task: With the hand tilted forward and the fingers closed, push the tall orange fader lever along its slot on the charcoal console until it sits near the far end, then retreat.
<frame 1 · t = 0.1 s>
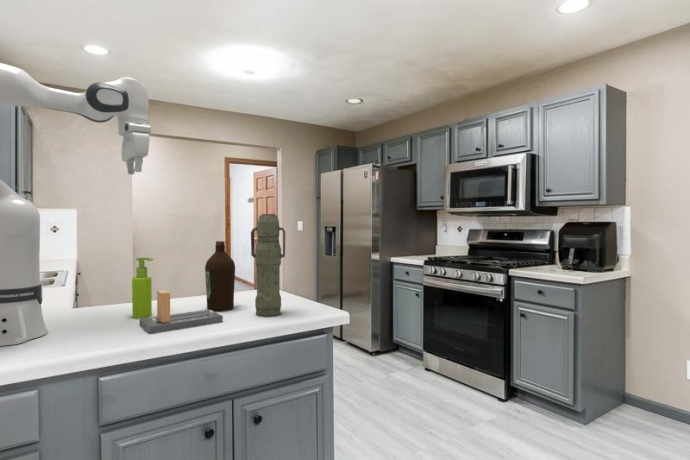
hand: (134, 173, 135), 48 cm above the countertop, tool pointing down, fingers open, 8 cm apart
fader lever: (163, 306, 126), point 7 cm above the countertop, slide at 0.0 cm
olive oil: (220, 309, 153), on the countertop
soap dispenser: (143, 316, 141), on the countertop
console: (181, 323, 132), on the countertop
thermos: (268, 314, 146), on the countertop
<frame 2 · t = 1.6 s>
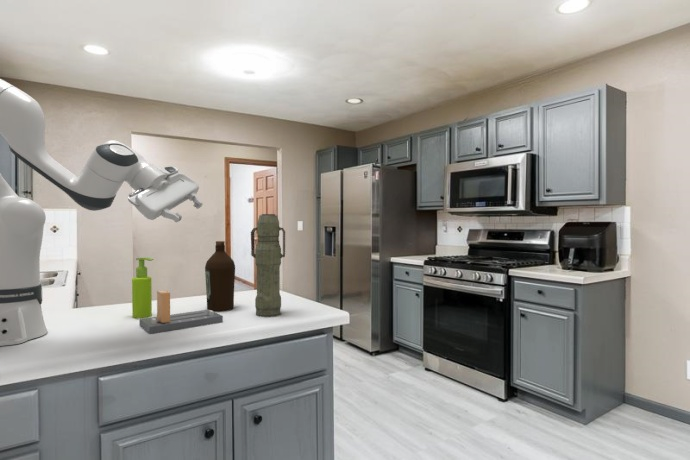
hand: (190, 212, 119), 35 cm above the countertop, tool tilted 55°, fingers open, 8 cm apart
nothing on the countertop moved.
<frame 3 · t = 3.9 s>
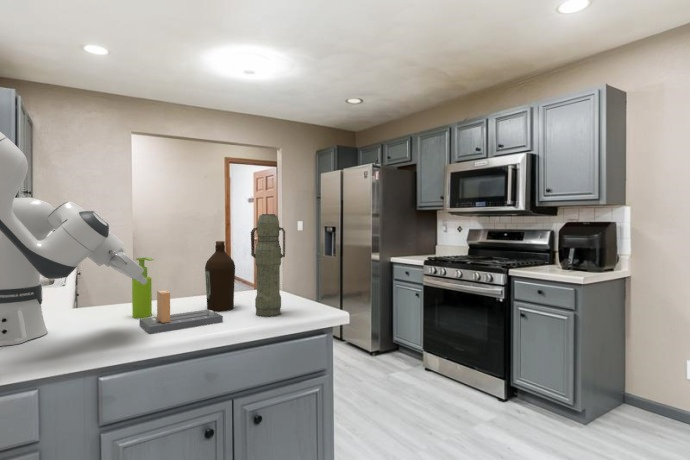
hand: (144, 282, 122), 15 cm above the countertop, tool tilted 45°, fingers closed
nothing on the countertop moved.
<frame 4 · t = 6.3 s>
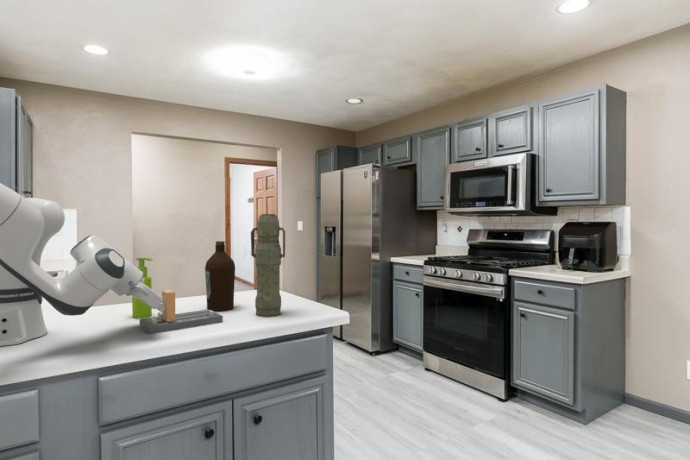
hand: (162, 309, 126), 6 cm above the countertop, tool tilted 45°, fingers closed, pressing on fader lever
fader lever: (168, 305, 127), point 7 cm above the countertop, slide at 1.5 cm, touching gripper
everything else where it was.
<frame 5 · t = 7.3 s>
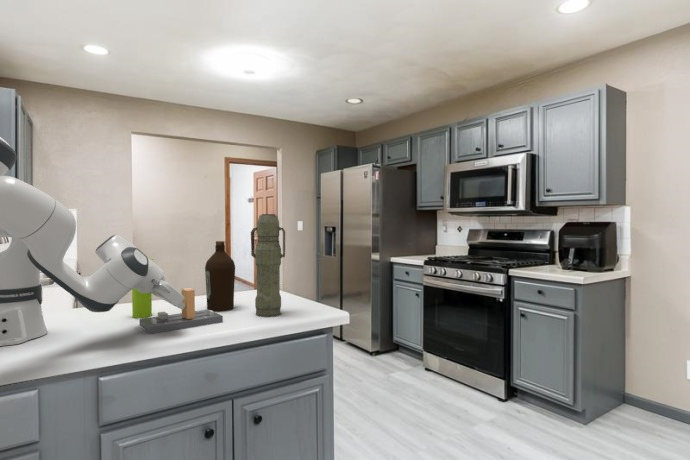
hand: (182, 306, 130), 6 cm above the countertop, tool tilted 45°, fingers closed, pressing on fader lever
fader lever: (188, 302, 131), point 7 cm above the countertop, slide at 7.4 cm, touching gripper
everything else where it was.
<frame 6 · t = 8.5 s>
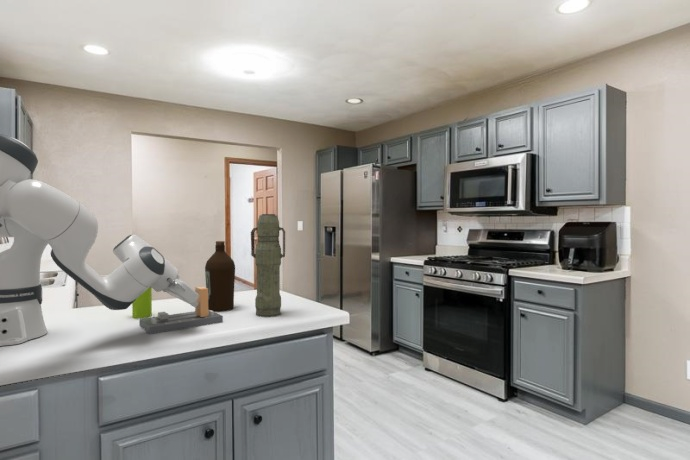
hand: (196, 305, 132), 6 cm above the countertop, tool tilted 45°, fingers closed, pressing on fader lever
fader lever: (201, 301, 134), point 7 cm above the countertop, slide at 11.7 cm, touching gripper
everything else where it was.
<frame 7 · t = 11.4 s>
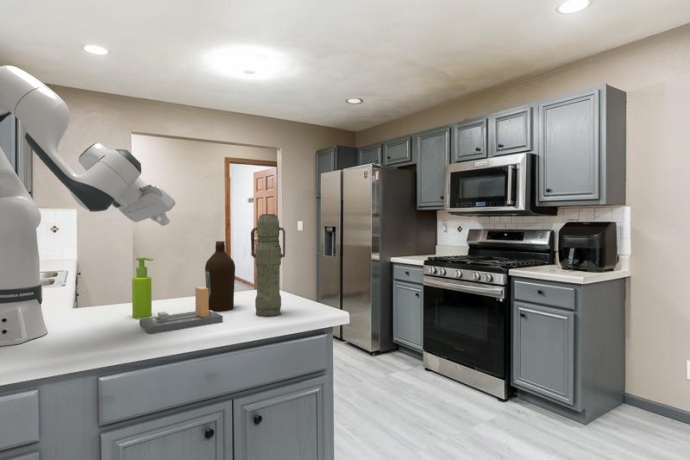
hand: (166, 223, 130), 32 cm above the countertop, tool tilted 45°, fingers closed
fader lever: (201, 301, 134), point 7 cm above the countertop, slide at 11.7 cm
everything else where it was.
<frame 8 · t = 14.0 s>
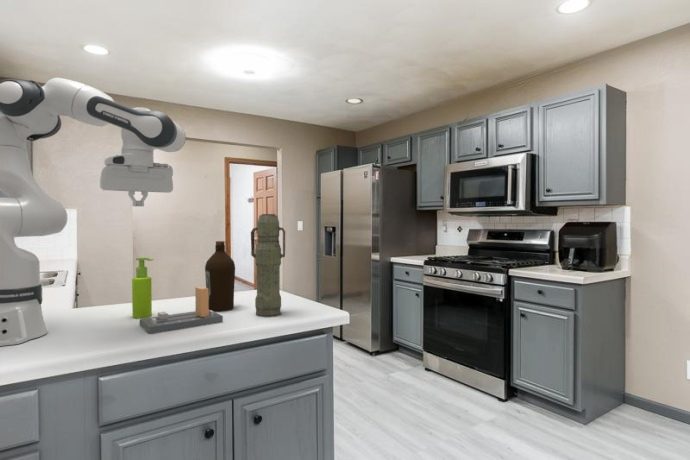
hand: (138, 206, 128), 37 cm above the countertop, tool pointing down, fingers closed
nothing on the countertop moved.
at the end: fader lever slide at 11.7 cm; the gripper is holding nothing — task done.
